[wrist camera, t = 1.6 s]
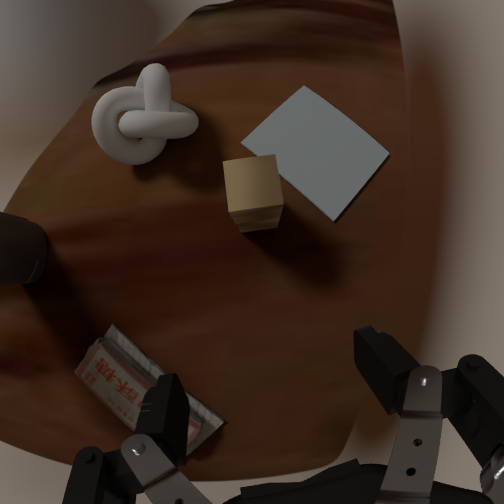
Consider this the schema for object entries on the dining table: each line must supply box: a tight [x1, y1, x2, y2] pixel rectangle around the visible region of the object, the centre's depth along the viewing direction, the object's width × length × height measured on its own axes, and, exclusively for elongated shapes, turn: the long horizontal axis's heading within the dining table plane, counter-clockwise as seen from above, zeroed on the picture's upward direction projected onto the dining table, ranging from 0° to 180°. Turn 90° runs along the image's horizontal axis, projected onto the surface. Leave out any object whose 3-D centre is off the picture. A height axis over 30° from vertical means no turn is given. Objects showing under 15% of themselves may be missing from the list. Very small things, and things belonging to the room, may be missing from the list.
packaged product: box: [74, 324, 224, 456], centre depth 29 cm, size 18×5×10 cm
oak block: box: [223, 154, 284, 233], centre depth 26 cm, size 4×4×11 cm
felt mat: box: [241, 86, 389, 222], centre depth 32 cm, size 14×12×1 cm
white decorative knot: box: [92, 63, 198, 165], centre depth 29 cm, size 11×12×9 cm
